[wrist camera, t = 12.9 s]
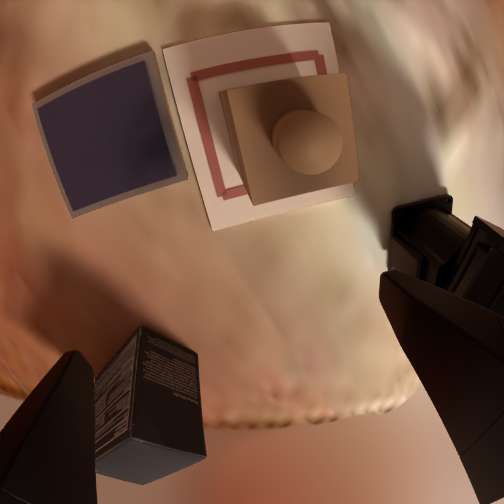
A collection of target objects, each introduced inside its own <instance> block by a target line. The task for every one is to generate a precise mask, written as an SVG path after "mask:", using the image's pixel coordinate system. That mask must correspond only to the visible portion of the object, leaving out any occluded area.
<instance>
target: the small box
mask: <svg viewBox="0 0 504 504" xmlns="http://www.w3.org/2000/svg"><path fill="white" fill-rule="evenodd" d="M94 394H95V469H96V473H98V474H102V475H105V476H108V477H112V478H116V479H119V480H123V481H127V482H132V483H136V484H140V485H144V484H147V483H150V482H152V481H155V480H157V479H160V478H162V477H165V476H167V475H170V474H172V473H174V472H177V471H179V470H181V469H184V468H186V467H188V466H190V465H193V464H195V463H197V462H199V461H201V460H203V459H206V458H207V455H206V446H205V437H204V428H203V418H202V407H201V395H200V382H199V366H198V355H197V354H196V353H194V352H192V351H190V350H188V349H186V348H184V347H182V346H180V345H178V344H176V343H174V342H172V341H170V340H168V339H166V338H164V337H162V336H160V335H158V334H156V333H155V332H153V331H151V330H149V329H147V328H145V327H143V326H140V327H139V328H138V329H137V330H136V331H135V332H134V334H133V335H132V336H131V337H130V338H129V339H128V341H127V342H126V343H125V344H124V345H123V346H122V347H121V349H120V350H119V351H118V352H117V354H116V355H115V356H114V357H113V358H112V360H111V361H110V362H109V363H108V365H107V366H106V367H105V368H104V369H103V371H102V372H101V373H100V374H99V376H98V377H97V378H96V379H95V383H94Z"/></svg>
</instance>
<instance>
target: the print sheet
mask: <svg viewBox="0 0 504 504" xmlns="http://www.w3.org/2000/svg"><path fill="white" fill-rule="evenodd" d="M162 50H163V54H164V58H165V62H166V66H167V70H168V73H169V77H170V81H171V85H172V89H173V93H174V97H175V100H176V104H177V108H178V112H179V115H180V119H181V123H182V126H183V130H184V134H185V137H186V141H187V145H188V148H189V152H190V155H191V159H192V162H193V166H194V169H195V173H196V176H197V180H198V183H199V187H200V190H201V194H202V197H203V200H204V204H205V207H206V210H207V214H208V217H209V220H210V224H211V227H212V230H213V231H216V230H219V229H223V228H227V227H231V226H234V225H238V224H242V223H246V222H250V221H253V220H257V219H261V218H265V217H269V216H273V215H277V214H281V213H285V212H289V211H293V210H297V209H301V208H305V207H309V206H313V205H317V204H321V203H325V202H329V201H334V200H338V199H342V198H346V197H351V196H354V183H349V184H345V185H340V186H336V187H331V188H327V189H322V190H318V191H314V192H309V193H305V194H301V195H297V196H292V197H288V198H284V199H280V200H276V201H272V202H268V203H264V204H260V205H256V206H253V204H252V202H251V200H250V198H249V196H248V193H247V191H246V189H245V187H244V185H243V182H242V180H241V178H240V176H239V174H238V171H237V168H236V164H235V160H234V155H233V151H232V147H231V143H230V139H229V134H228V130H227V126H226V122H225V118H224V113H223V109H222V105H221V101H220V97H219V93H218V92H219V91H224V90H228V89H233V88H237V87H242V86H247V85H252V84H257V83H263V82H269V81H275V80H281V79H288V78H295V77H303V76H312V75H323V74H337V73H340V72H339V67H338V62H337V56H336V51H335V46H334V42H333V37H332V33H331V28H330V24H329V22H323V23H303V24H290V25H280V26H271V27H263V28H256V29H249V30H243V31H237V32H231V33H226V34H221V35H216V36H212V37H207V38H203V39H199V40H194V41H190V42H187V43H183V44H179V45H176V46H172V47H169V48H165V49H162Z"/></svg>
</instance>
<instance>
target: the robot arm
mask: <svg viewBox="0 0 504 504" xmlns="http://www.w3.org/2000/svg"><path fill="white" fill-rule="evenodd" d="M447 200H448V201H447ZM452 204H453V198H452V196H450V195H449V194H445V195H441V196H437V197H433V198H429V199H425V200H421V201H417V202H413V203H409V204H405V205H401V206H397V207H395V208H394V209H393V211H392V227H391V237H390V256H389V262H390V269H389V270H388V271H385V272H383V273H382V274H381V276H380V287H379V299H380V303H381V305H382V307H383V309H384V311H385V313H386V315H387V317H388V320H389V322H390V324H391V326H392V328H393V331H394V333H395V335H396V337H397V339H398V341H399V343H400V345H401V347H402V349H403V351H404V353H405V354H406V356H407V358H408V359H409V361H410V363H411V365H412V366H413V368H414V370H415V372H416V373H417V375H418V377H419V379H420V381H421V382H422V384H423V386H424V388H425V390H426V391H427V393H428V395H429V397H430V399H431V400H432V403H433V404H434V406H435V408H436V410H437V412H438V414H439V416H440V418H441V419H442V422H443V424H444V426H445V428H446V430H447V432H448V434H449V436H450V438H451V440H452V442H453V444H454V446H455V448H456V450H457V452H458V455H459V456H460V459H461V461H462V463H463V466H464V468H465V470H466V473H467V475H468V477H469V479H470V482H471V484H472V486H473V489H474V491H475V494H476V496H477V499H478V501H479V503H480V504H490V503H493V502H495V501H497V500H499V499H501V498H503V497H504V230H503V229H501V228H500V227H498V226H496V225H494V224H492V223H490V222H488V221H486V220H484V219H482V218H480V217H477V216H475V217H474V220H473V222H472V223H473V225H472V227H470V226H469V225H468V224H466V223H465V222H463V221H462V220H460V219H459V218H458V217H456V216H455V215H453V214H452ZM398 212H399V214H398V215H397V213H398ZM0 504H97V491H96V469H95V394H94V371H93V368H92V366H91V365H90V364H89V363H88V361H87V360H86V359H85V358H84V356H83V355H82V354H81V353H80V352H79V351H78V350H72V351H67V352H65V353H64V354H63V356H62V357H61V358H60V359H59V360H58V361H57V362H56V364H55V365H54V366H53V367H52V368H51V369H50V371H49V372H48V373H47V374H46V375H45V376H44V378H43V379H42V380H41V381H40V382H39V384H38V385H37V386H36V387H35V388H34V390H33V391H32V392H31V393H30V395H29V396H28V397H27V398H26V399H25V401H24V402H23V403H22V404H21V406H20V407H19V408H18V410H17V411H16V412H15V413H14V415H13V416H12V417H11V419H10V420H9V421H8V422H7V424H6V425H5V426H4V429H2V430H1V432H0Z"/></svg>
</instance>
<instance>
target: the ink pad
mask: <svg viewBox="0 0 504 504" xmlns="http://www.w3.org/2000/svg"><path fill="white" fill-rule="evenodd" d="M32 106H33V110H34V113H35V117H36V120H37V124H38V127H39V130H40V134H41V137H42V140H43V143H44V146H45V149H46V152H47V155H48V158H49V161H50V164H51V167H52V169H53V172H54V175H55V177H56V180H57V183H58V185H59V188H60V190H61V193H62V195H63V198H64V200H65V203H66V205H67V207H68V210H69V212H70V214H71V217H72V218H75V217H77V216H80V215H82V214H85V213H88V212H90V211H93V210H96V209H99V208H101V207H104V206H107V205H110V204H113V203H116V202H118V201H121V200H124V199H127V198H130V197H133V196H136V195H139V194H142V193H145V192H148V191H152V190H155V189H158V188H161V187H164V186H168V185H171V184H174V183H178V182H181V181H184V180H188V173H187V170H186V166H185V163H184V159H183V156H182V152H181V149H180V146H179V142H178V138H177V135H176V131H175V128H174V124H173V121H172V117H171V113H170V110H169V106H168V102H167V98H166V95H165V91H164V87H163V83H162V79H161V76H160V72H159V68H158V64H157V60H156V56H155V52H153V51H149V52H146V53H143V54H140V55H137V56H134V57H132V58H129V59H126V60H124V61H121V62H118V63H116V64H113V65H111V66H108V67H106V68H104V69H101V70H99V71H97V72H94V73H92V74H90V75H88V76H85V77H83V78H81V79H79V80H77V81H75V82H73V83H71V84H69V85H67V86H65V87H63V88H61V89H59V90H57V91H55V92H53V93H52V94H50V95H48V96H46V97H44V98H43V99H41V100H39V101H37V102H36V103H34V104H32Z"/></svg>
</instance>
